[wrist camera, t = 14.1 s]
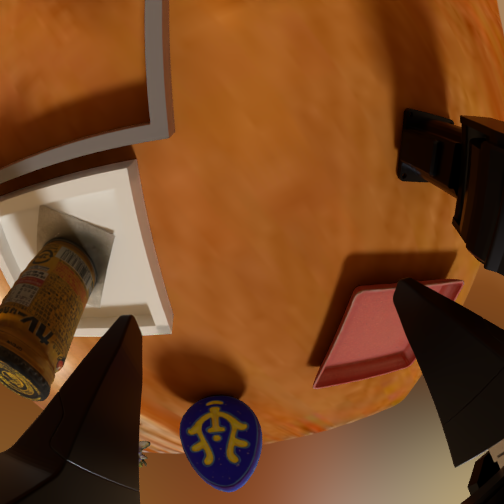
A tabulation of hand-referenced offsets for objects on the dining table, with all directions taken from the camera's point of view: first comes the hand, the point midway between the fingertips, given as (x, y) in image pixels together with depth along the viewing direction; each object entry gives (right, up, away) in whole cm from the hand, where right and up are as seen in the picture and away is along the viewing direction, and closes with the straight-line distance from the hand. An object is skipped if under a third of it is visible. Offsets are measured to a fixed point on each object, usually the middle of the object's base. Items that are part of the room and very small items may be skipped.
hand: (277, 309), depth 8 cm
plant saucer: (+16, -8, +24) cm, 30 cm away
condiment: (-16, +1, +11) cm, 20 cm away
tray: (-17, +1, +12) cm, 20 cm away
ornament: (-6, -20, +28) cm, 35 cm away
